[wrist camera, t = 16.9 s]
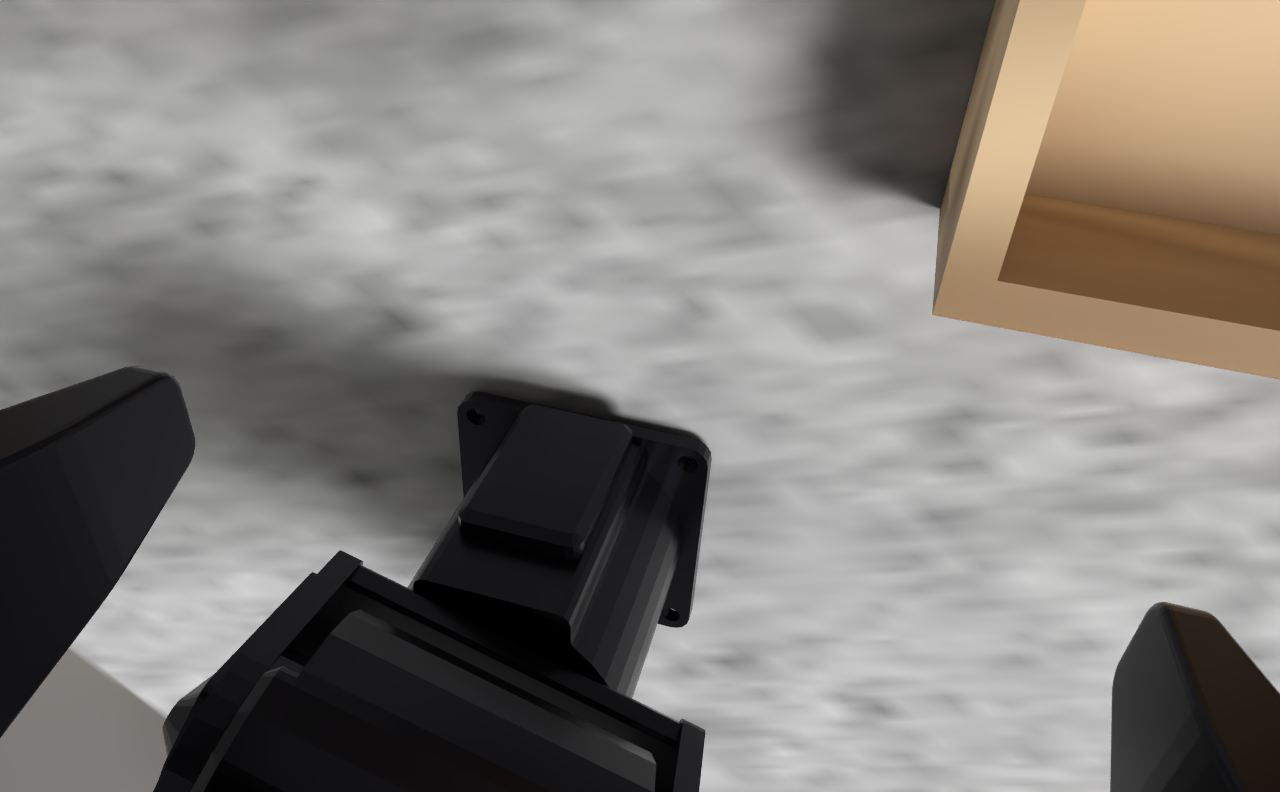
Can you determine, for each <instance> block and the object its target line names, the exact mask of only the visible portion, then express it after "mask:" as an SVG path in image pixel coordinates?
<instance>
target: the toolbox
mask: <svg viewBox="0 0 1280 792" xmlns="http://www.w3.org/2000/svg"><path fill="white" fill-rule="evenodd" d="M932 315H936V316H941V317H947V318H952V319H957V320H963V321H968V322H974V323H979V324H984V325H990V326H995V327H1000V328H1006V329H1011V330H1017V331H1022V332H1027V333H1033V334H1038V335H1043V336H1049V337H1054V338H1060V339H1065V340H1070V341H1076V342H1081V343H1086V344H1092V345H1097V346H1102V347H1108V348H1113V349H1119V350H1124V351H1129V352H1135V353H1140V354H1145V355H1151V356H1156V357H1162V358H1167V359H1172V360H1178V361H1183V362H1188V363H1194V364H1199V365H1205V366H1210V367H1215V368H1221V369H1226V370H1231V371H1237V372H1242V373H1248V374H1253V375H1258V376H1264V377H1269V378H1274V379H1280V0H995V3H994V7H993V11H992V15H991V19H990V22H989V26H988V30H987V34H986V37H985V41H984V45H983V49H982V53H981V56H980V60H979V64H978V68H977V72H976V75H975V79H974V83H973V87H972V91H971V94H970V98H969V102H968V106H967V110H966V113H965V117H964V121H963V125H962V129H961V132H960V136H959V140H958V144H957V148H956V151H955V155H954V159H953V163H952V167H951V170H950V174H949V178H948V182H947V186H946V189H945V193H944V197H943V201H942V205H941V208H940V218H939V231H938V245H937V259H936V273H935V286H934V300H933V314H932Z"/></svg>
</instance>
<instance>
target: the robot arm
mask: <svg viewBox="0 0 1280 792" xmlns="http://www.w3.org/2000/svg"><path fill="white" fill-rule="evenodd" d="M474 409H477V410H479V411H481V412H482V413H483V414H484V416H482V415H480V414H478V413H477V412H476V411H475V410H474ZM457 414H458V427H459V440H460V453H461V467H462V480H463V493H464V499H463V500H462V502H461V504H460V505H459V507H458V508H457V510H456V512H455V513H454V515H453V516H452V518H451V519H450V521H449V523H448V524H447V526H446V527H445V529H444V531H443V532H442V534H441V535H440V537H439V539H438V540H437V542H436V543H435V545H434V546H433V548H432V550H431V551H430V553H429V554H428V556H427V558H426V559H425V561H424V562H423V564H422V565H421V567H420V569H419V570H418V572H417V573H416V575H415V577H414V578H413V580H412V581H411V583H410V585H409V586H408V588H406V587H404V586H402V585H400V584H398V583H396V582H394V581H392V580H390V579H388V578H386V577H384V576H382V575H380V574H378V573H376V572H374V571H372V570H370V569H368V568H366V567H364V566H362V565H363V561H361V560H359V559H357V558H355V557H353V556H351V555H349V554H347V553H345V552H343V551H341V550H340V551H339V552H338V553H337V554H336V555H335V556H334V557H333V558H332V559H331V560H330V561H329V562H328V563H327V564H326V565H325V566H324V567H323V568H322V570H321V571H320V572H319V573H318V574H316V573H314V572H312V573H311V574H310V575H309V576H308V577H307V578H306V579H305V580H304V581H303V582H302V583H301V584H300V585H299V586H298V587H297V588H296V589H295V590H294V592H293V593H292V594H291V595H290V596H289V597H288V598H287V599H286V600H285V601H284V602H283V603H282V604H281V605H280V606H279V607H278V608H277V609H276V610H275V611H274V612H273V613H272V615H271V616H270V617H269V618H268V619H267V620H266V621H265V622H264V623H263V624H262V625H261V626H260V627H259V628H258V629H257V630H256V631H255V632H254V633H253V634H252V635H251V637H250V638H249V639H248V640H247V641H246V642H245V643H244V644H243V645H242V646H241V647H240V648H239V649H238V650H237V651H236V652H235V653H234V654H233V655H232V656H231V657H230V659H229V660H228V661H227V662H226V663H225V664H224V665H223V666H222V667H221V668H220V669H219V670H218V671H217V672H216V673H215V674H214V675H212V676H211V677H210V678H208V679H207V680H206V681H204V682H203V683H202V684H200V685H199V686H198V687H196V688H195V689H194V690H192V691H191V692H189V693H188V694H187V695H185V696H184V697H183V698H181V699H180V700H179V701H178V702H177V704H176V705H175V706H174V707H173V709H172V710H171V712H170V713H169V715H168V717H167V718H166V720H165V722H164V725H163V735H164V740H165V745H166V750H167V756H168V757H167V759H166V761H165V764H164V766H163V769H162V772H161V775H160V777H159V781H158V783H157V785H156V787H155V789H154V791H153V792H699V786H700V776H701V767H702V758H703V748H704V739H705V730H704V729H702V728H700V727H698V726H696V725H694V724H692V723H690V722H688V721H686V720H684V719H681V720H680V722H678V721H676V720H674V719H672V718H670V717H668V716H666V715H664V714H662V713H660V712H658V711H656V710H654V709H652V708H650V707H648V706H646V705H644V704H642V703H640V702H638V701H636V700H634V699H632V697H633V694H634V691H635V688H636V685H637V682H638V679H639V676H640V673H641V670H642V667H643V664H644V661H645V659H646V656H647V653H648V650H649V647H650V644H651V641H652V638H653V635H654V632H655V629H656V626H657V624H661V625H665V626H669V627H676V628H677V627H683V626H684V625H686V624H687V622H688V620H689V617H690V614H691V611H692V606H693V598H694V591H695V583H696V575H697V567H698V560H699V552H700V544H701V537H702V529H703V521H704V513H705V506H706V498H707V490H708V483H709V475H710V467H711V459H712V458H711V452H710V450H709V449H708V447H707V446H706V445H705V444H704V443H702V442H701V441H698V440H696V439H693V438H688V437H684V436H679V435H675V434H670V433H666V432H661V431H657V430H652V429H647V428H643V427H638V426H634V425H629V424H625V423H620V422H615V421H611V420H606V419H602V418H597V417H593V416H588V415H583V414H579V413H574V412H570V411H565V410H561V409H556V408H551V407H547V406H542V405H538V404H533V403H529V402H524V401H519V400H515V399H510V398H506V397H501V396H497V395H492V394H488V393H483V392H472V393H470V394H468V395H467V396H466V397H465V399H464V400H463V401H462V403H461V404H460V406H459V407H458V412H457ZM194 449H195V437H194V433H193V429H192V426H191V422H190V419H189V415H188V412H187V408H186V405H185V402H184V398H183V395H182V391H181V388H180V385H179V383H178V382H177V380H176V379H175V378H174V377H173V376H172V375H170V374H168V373H165V372H161V371H157V370H153V369H148V368H144V367H138V366H130V367H125V368H122V369H119V370H116V371H113V372H110V373H107V374H104V375H102V376H99V377H96V378H93V379H90V380H87V381H84V382H81V383H78V384H75V385H72V386H69V387H67V388H64V389H61V390H58V391H55V392H52V393H49V394H46V395H43V396H40V397H37V398H34V399H31V400H29V401H26V402H23V403H20V404H17V405H14V406H11V407H8V408H5V409H2V410H0V738H1V736H2V735H3V734H4V733H5V731H6V730H7V728H8V727H9V726H10V725H11V723H12V722H13V721H14V719H15V718H16V717H17V715H18V714H19V713H20V711H21V710H22V709H23V708H24V706H25V705H26V704H27V702H28V701H29V699H30V698H31V697H32V696H33V694H34V693H35V692H36V690H37V689H38V688H39V686H40V685H41V684H42V682H43V681H44V680H45V678H46V677H47V676H48V674H49V673H50V672H51V671H52V669H53V668H54V667H55V665H56V664H57V663H58V661H59V660H60V659H61V657H62V656H63V655H64V653H65V652H66V651H67V649H68V648H69V647H70V645H71V644H72V643H73V641H74V640H75V639H76V638H77V636H78V635H79V634H80V632H81V631H82V630H83V628H84V627H85V626H86V624H87V623H88V622H89V620H90V619H91V618H92V616H93V615H94V614H95V612H96V611H97V610H98V608H99V607H100V606H101V604H102V603H103V601H104V600H105V599H106V597H107V596H108V595H109V593H110V592H111V590H112V589H113V588H114V586H115V584H116V583H117V581H118V580H119V578H120V577H121V575H122V574H123V572H124V570H125V569H126V567H127V566H128V564H129V563H130V561H131V559H132V558H133V556H134V554H135V553H136V551H137V549H138V548H139V546H140V545H141V543H142V541H143V540H144V538H145V536H146V535H147V533H148V531H149V530H150V528H151V526H152V525H153V523H154V522H155V520H156V518H157V517H158V515H159V513H160V512H161V510H162V508H163V507H164V505H165V504H166V502H167V500H168V499H169V497H170V495H171V494H172V492H173V490H174V489H175V487H176V486H177V484H178V482H179V481H180V479H181V477H182V476H183V474H184V472H185V471H186V469H187V467H188V466H189V464H190V462H191V460H192V457H193V454H194ZM683 456H689V457H691V458H694V459H695V460H696V462H689V461H687V460H685V459H684V458H683ZM672 609H674V610H672ZM675 610H676V611H675ZM1110 792H1280V693H1279V692H1278V691H1277V689H1276V688H1275V687H1274V686H1273V685H1272V684H1271V682H1270V681H1269V680H1268V679H1267V678H1266V676H1265V675H1264V674H1263V673H1262V672H1261V670H1260V669H1259V668H1258V667H1257V666H1256V664H1255V663H1254V662H1253V661H1252V660H1251V658H1250V657H1249V656H1248V655H1247V654H1246V652H1245V651H1244V650H1243V649H1242V648H1241V646H1240V645H1239V644H1238V643H1237V642H1236V640H1235V639H1234V638H1233V637H1232V636H1231V634H1230V633H1229V632H1228V631H1227V630H1226V628H1225V627H1224V626H1223V625H1222V624H1221V622H1220V621H1219V620H1218V619H1217V618H1216V617H1214V616H1213V615H1212V614H1210V613H1208V612H1205V611H1202V610H1198V609H1193V608H1189V607H1185V606H1180V605H1176V604H1172V603H1167V602H1160V603H1156V604H1154V605H1153V606H1152V607H1151V608H1150V609H1149V610H1148V611H1147V613H1146V615H1145V616H1144V618H1143V620H1142V622H1141V624H1140V625H1139V627H1138V629H1137V631H1136V633H1135V634H1134V636H1133V638H1132V640H1131V642H1130V643H1129V645H1128V647H1127V649H1126V651H1125V652H1124V654H1123V656H1122V658H1121V660H1120V661H1119V663H1118V666H1117V669H1116V672H1115V676H1114V680H1113V687H1112V724H1111V781H1110Z"/></svg>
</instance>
